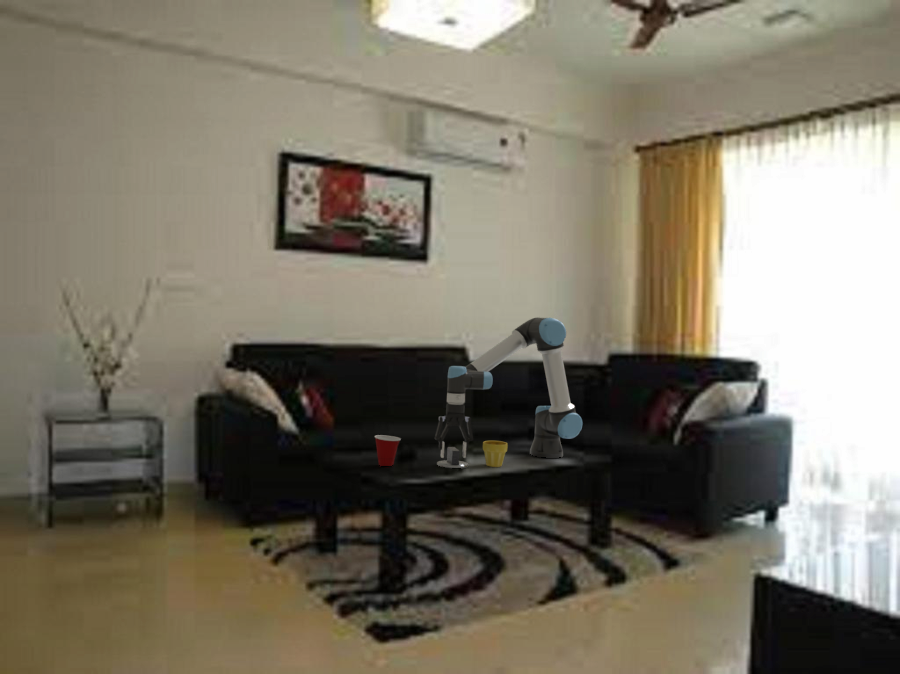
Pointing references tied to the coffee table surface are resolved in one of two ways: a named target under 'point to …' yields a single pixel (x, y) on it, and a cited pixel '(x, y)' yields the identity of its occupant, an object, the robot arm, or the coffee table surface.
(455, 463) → the steel lid
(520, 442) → the coffee table surface
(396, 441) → the plastic cup
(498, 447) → the plant pot
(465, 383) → the robot arm
